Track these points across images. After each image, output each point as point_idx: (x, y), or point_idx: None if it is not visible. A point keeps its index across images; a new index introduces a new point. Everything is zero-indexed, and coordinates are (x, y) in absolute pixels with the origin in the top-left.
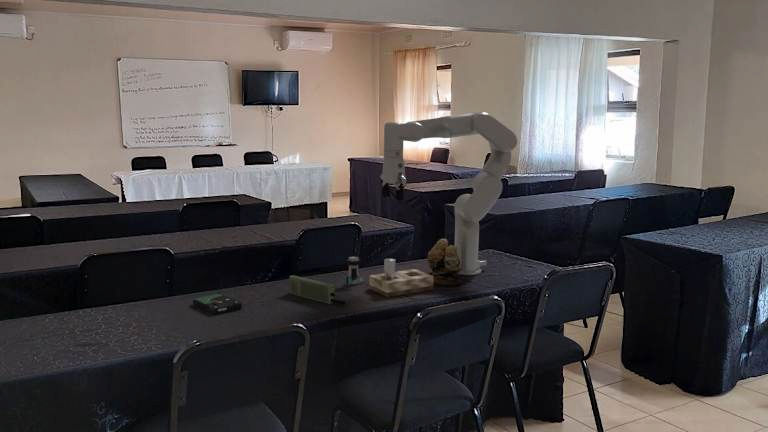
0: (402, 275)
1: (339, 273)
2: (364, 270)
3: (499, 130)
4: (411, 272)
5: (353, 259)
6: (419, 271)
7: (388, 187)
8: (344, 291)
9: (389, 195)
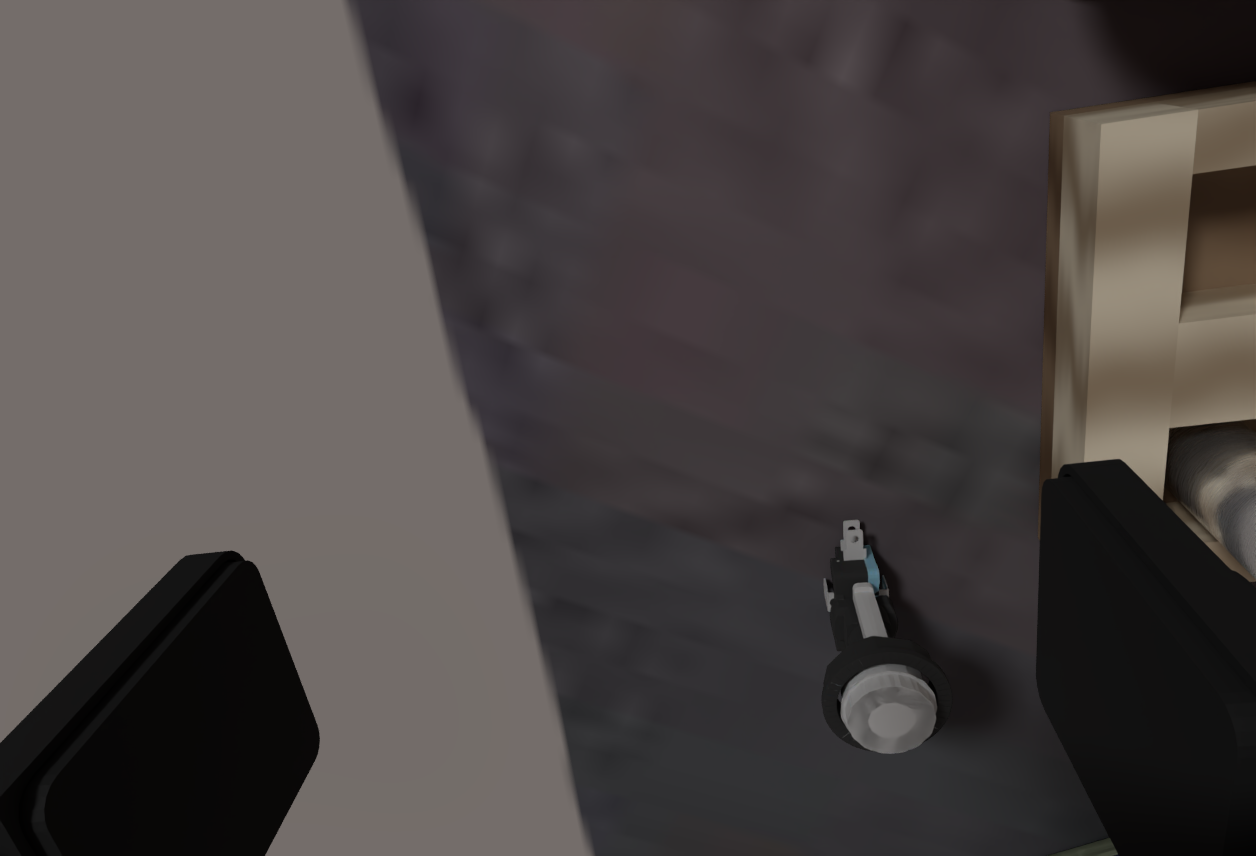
0: (1247, 356)
1: (542, 569)
2: (507, 370)
3: None
4: (1185, 216)
5: (929, 730)
6: (1218, 124)
7: (84, 852)
8: (1006, 693)
9: (245, 581)
